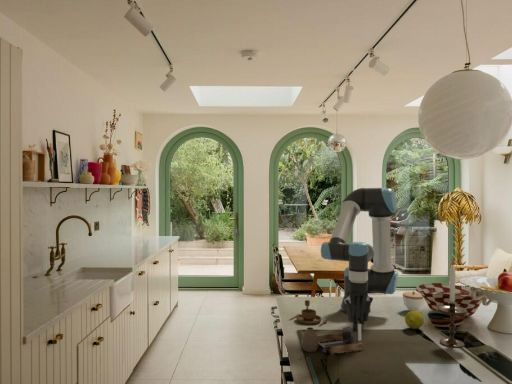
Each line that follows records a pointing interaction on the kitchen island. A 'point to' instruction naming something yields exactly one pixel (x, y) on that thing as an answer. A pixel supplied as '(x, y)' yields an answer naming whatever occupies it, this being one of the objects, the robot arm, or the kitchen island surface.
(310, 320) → the place setting
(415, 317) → the lemon
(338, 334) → the channel
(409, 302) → the lidded jar
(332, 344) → the lopsided grey dumbbell
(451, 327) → the candlestick
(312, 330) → the vase
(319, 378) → the kitchen island surface
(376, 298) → the kitchen island surface
